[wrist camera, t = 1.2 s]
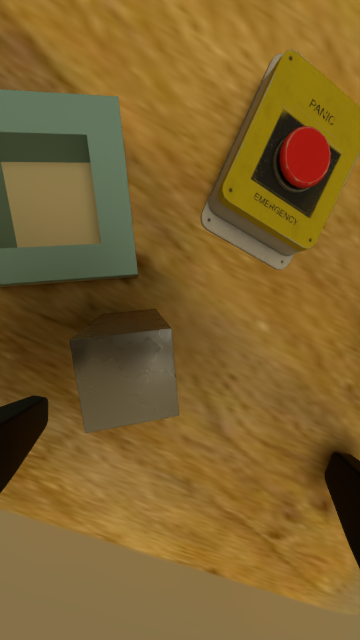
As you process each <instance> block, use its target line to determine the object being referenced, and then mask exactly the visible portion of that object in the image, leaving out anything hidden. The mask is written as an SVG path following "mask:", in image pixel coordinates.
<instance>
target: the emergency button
mask: <svg viewBox="0 0 360 640" xmlns="http://www.w3.org/2000/svg"><path fill="white" fill-rule="evenodd" d="M359 154H360V106H359V105H358V104H357V103H355V102H354V101H353V100H352V99H351V98H350V97H349V96H347V95H346V94H345V93H344V92H343V91H342V90H341V89H340V88H338V87H337V86H336V85H335V84H334V83H333V82H332V81H330V80H329V79H328V78H327V77H326V76H325V75H324V74H323V73H321V72H320V71H319V70H318V69H317V68H316V67H315V66H313V65H312V64H311V63H310V62H309V61H308V60H307V59H306V58H304V57H303V56H302V55H301V54H300V53H299V52H297V51H295V50H293V49H291V50H287V51H286V52H285V53H284V54H283V53H280V54H277V55H276V56H275V57H274V58H273V59H272V61H271V62H270V64H269V67H268V69H267V71H266V73H265V75H264V78H263V80H262V82H261V84H260V86H259V89H258V91H257V93H256V95H255V97H254V99H253V102H252V104H251V106H250V108H249V110H248V113H247V115H246V117H245V119H244V121H243V124H242V126H241V128H240V130H239V132H238V135H237V137H236V139H235V141H234V143H233V146H232V148H231V150H230V152H229V154H228V157H227V159H226V161H225V163H224V165H223V167H222V170H221V172H220V174H219V176H218V178H217V181H216V183H215V185H214V187H213V189H212V192H211V194H210V196H209V198H208V200H207V203H206V205H205V207H204V209H203V211H202V216H201V222H202V225H203V226H204V228H205V229H206V230H208V231H210V232H211V233H213V234H215V235H217V236H218V237H220V238H222V239H224V240H225V241H227V242H229V243H231V244H232V245H234V246H236V247H238V248H240V249H241V250H243V251H245V252H247V253H248V254H250V255H252V256H254V257H255V258H257V259H259V260H261V261H262V262H264V263H266V264H268V265H269V266H271V267H273V268H275V269H279V270H281V269H283V268H286V267H287V265H288V264H289V263H290V261H291V259H292V257H293V255H294V254H295V253H297V252H300V251H304V250H307V249H309V248H312V247H313V246H314V245H315V243H316V242H317V240H318V238H319V236H320V234H321V232H322V229H323V227H324V225H325V223H326V221H327V219H328V217H329V215H330V213H331V211H332V209H333V207H334V205H335V203H336V201H337V199H338V197H339V195H340V193H341V191H342V189H343V187H344V185H345V183H346V181H347V179H348V177H349V175H350V172H351V170H352V168H353V166H354V164H355V162H356V160H357V158H358V156H359Z"/></svg>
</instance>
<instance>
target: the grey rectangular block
mask: <svg viewBox="0 0 360 640" xmlns="http://www.w3.org/2000/svg"><path fill="white" fill-rule="evenodd" d="M70 346H71V352H72V358H73V363H74V369H75V375H76V381H77V387H78V393H79V399H80V405H81V411H82V417H83V423H84V429H85V433H89V432H94V431H99V430H105V429H110V428H115V427H121V426H126V425H132V424H137V423H142V422H148V421H153V420H158V419H164V418H169V417H174V416H179V409H178V398H177V386H176V375H175V364H174V353H173V342H172V331H171V327H170V326H169V325H168V324H167V322H166V321H165V320H164V319H163V317H162V316H161V315H160V314H159V312H158V311H157V310H156V309H150V310H140V311H131V312H121V313H111V314H102V315H101V316H99V317H98V318H97V319H96V320H94V321H93V322H92V323H91V324H89V325H88V326H87V327H86V328H84V329H83V330H82V331H81V332H79V333H78V334H77V335H76V336H75V337H73V338H72V339H71V340H70Z"/></svg>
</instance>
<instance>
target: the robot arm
mask: <svg viewBox="0 0 360 640" xmlns="http://www.w3.org/2000/svg"><path fill="white" fill-rule="evenodd" d="M47 422H48V399H47V398H46V397H41V396H30V397H28V398H25V399H22V400H19V401H16V402H13V403H10V404H7V405H4V406H2V407H0V493H1V491H2V490H3V489H4V488H5V486H6V485H7V484H8V482H9V481H10V480H11V478H12V477H13V476H14V474H15V473H16V471H17V470H18V468H19V467H20V465H21V464H22V462H23V461H24V459H25V458H26V456H27V455H28V453H29V452H30V450H31V449H32V447H33V446H34V444H35V443H36V441H37V439H38V438H39V436H40V435H41V433H42V432H43V430H44V429H45V427H46V425H47ZM325 481H326V484H327V487H328V490H329V492H330V495H331V498H332V500H333V503H334V506H335V509H336V511H337V514H338V517H339V519H340V522H341V525H342V528H343V530H344V533H345V535H346V538H347V541H348V543H349V546H350V548H351V550H352V552H353V555H354V557H355V559H356V561H357V564H358V566H359V568H360V461H359V460H358V459H356V458H355V457H354V456H352V455H350V454H348V453H343V452H338V451H336V452H334V453H332V455H331V458H330V460H329V463H328V465H327V468H326V470H325Z"/></svg>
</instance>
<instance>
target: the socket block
mask: <svg viewBox="0 0 360 640" xmlns="http://www.w3.org/2000/svg"><path fill="white" fill-rule="evenodd" d="M127 277H138V271H137V262H136V253H135V244H134V235H133V226H132V217H131V208H130V199H129V190H128V181H127V172H126V163H125V153H124V144H123V135H122V126H121V117H120V108H119V99H118V97H116V96H99V95H83V94H66V93H49V92H33V91H16V90H0V287H8V286H21V285H34V284H48V283H61V282H74V281H87V280H100V279H114V278H127Z"/></svg>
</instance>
